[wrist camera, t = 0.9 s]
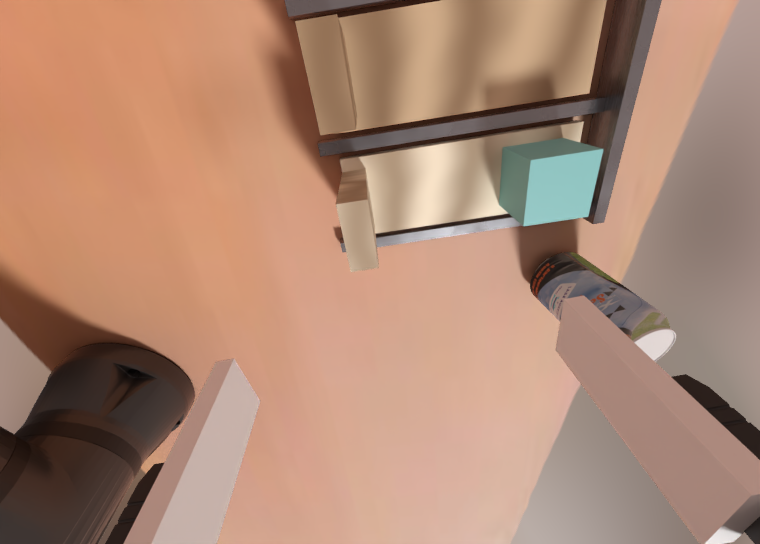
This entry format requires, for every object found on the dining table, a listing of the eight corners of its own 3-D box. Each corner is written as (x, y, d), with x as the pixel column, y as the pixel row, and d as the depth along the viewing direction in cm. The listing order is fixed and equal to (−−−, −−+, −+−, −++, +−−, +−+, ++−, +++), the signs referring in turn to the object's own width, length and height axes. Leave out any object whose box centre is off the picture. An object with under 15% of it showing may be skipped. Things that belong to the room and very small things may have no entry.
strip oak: (335, 132, 25) (324, 154, 18) (313, 24, 22) (288, -7, 14) (581, 92, 25) (680, 97, 17) (602, -25, 21) (739, -85, 14)
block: (498, 204, 28) (523, 226, 24) (502, 147, 26) (530, 160, 21) (553, 196, 28) (588, 216, 24) (563, 137, 26) (603, 148, 21)
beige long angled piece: (355, 232, 30) (353, 283, 22) (340, 157, 26) (332, 188, 19) (562, 200, 30) (633, 242, 22) (576, 120, 26) (667, 136, 18)
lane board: (343, 246, 31) (341, 261, 29) (287, 1, 21) (277, -10, 19) (583, 210, 31) (604, 222, 28) (642, -60, 21) (682, -80, 18)
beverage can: (536, 244, 32) (617, 319, 22) (600, 249, 33) (708, 324, 23) (515, 293, 35) (578, 379, 25) (575, 297, 36) (659, 382, 26)
